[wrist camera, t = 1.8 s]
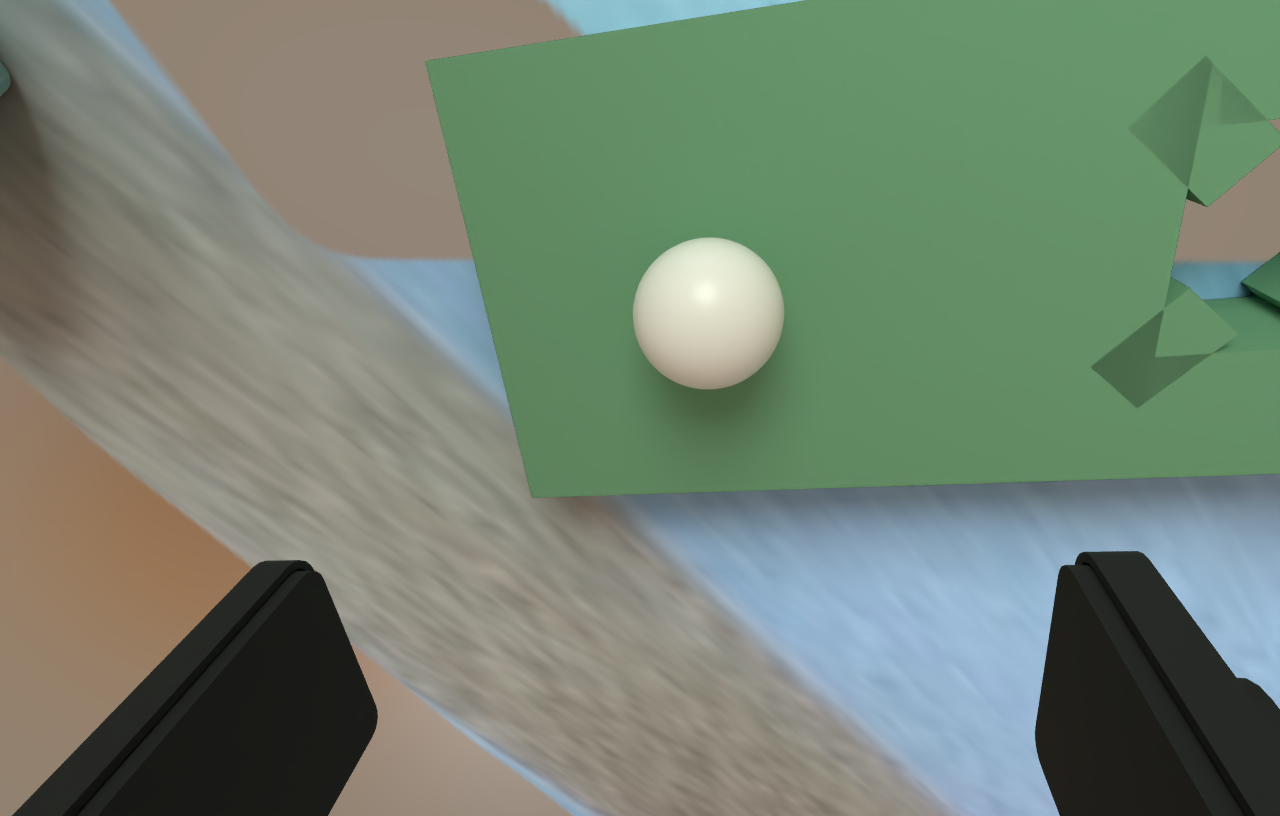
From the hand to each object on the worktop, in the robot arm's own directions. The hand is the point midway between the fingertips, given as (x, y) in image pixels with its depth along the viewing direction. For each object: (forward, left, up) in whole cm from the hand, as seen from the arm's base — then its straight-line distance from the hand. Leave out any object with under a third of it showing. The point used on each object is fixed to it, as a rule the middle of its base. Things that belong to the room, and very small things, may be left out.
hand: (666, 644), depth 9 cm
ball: (0, 0, -11) cm, 11 cm away
